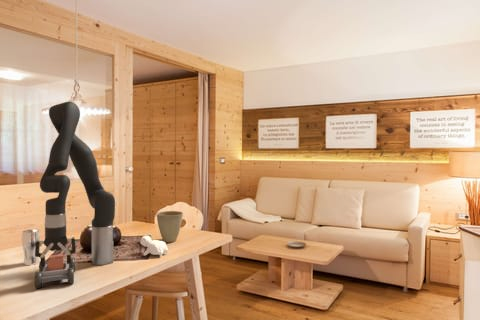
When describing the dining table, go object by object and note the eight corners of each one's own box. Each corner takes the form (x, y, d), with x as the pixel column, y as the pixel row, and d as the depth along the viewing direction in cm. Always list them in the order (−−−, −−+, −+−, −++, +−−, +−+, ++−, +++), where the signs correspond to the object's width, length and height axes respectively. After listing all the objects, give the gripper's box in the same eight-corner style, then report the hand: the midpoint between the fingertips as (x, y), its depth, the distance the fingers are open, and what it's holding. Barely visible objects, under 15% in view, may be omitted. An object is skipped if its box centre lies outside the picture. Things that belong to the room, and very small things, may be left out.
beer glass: (27, 260, 162) (26, 229, 161) (42, 260, 163) (42, 228, 162) (18, 266, 155) (18, 232, 154) (35, 265, 156) (34, 232, 155)
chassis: (74, 269, 152) (74, 255, 151) (73, 285, 134) (73, 270, 134) (40, 273, 146) (40, 259, 146) (34, 290, 129) (34, 274, 129)
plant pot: (186, 238, 206) (186, 211, 205) (177, 245, 191) (177, 216, 190) (162, 236, 208) (162, 210, 208) (151, 243, 194) (152, 215, 193)
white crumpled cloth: (166, 258, 177) (144, 244, 182) (172, 244, 175) (149, 230, 181) (156, 264, 169) (133, 249, 174) (161, 248, 168) (138, 234, 173)
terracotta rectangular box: (63, 267, 143) (63, 254, 142) (62, 272, 137) (62, 258, 137) (49, 269, 141) (49, 255, 140) (48, 274, 135) (48, 260, 135)
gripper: (75, 221, 144) (75, 260, 145) (36, 224, 139) (36, 264, 139) (75, 225, 138) (75, 265, 138) (33, 228, 132) (34, 270, 132)
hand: (55, 265), depth 139 cm, fingers open, 8 cm apart
